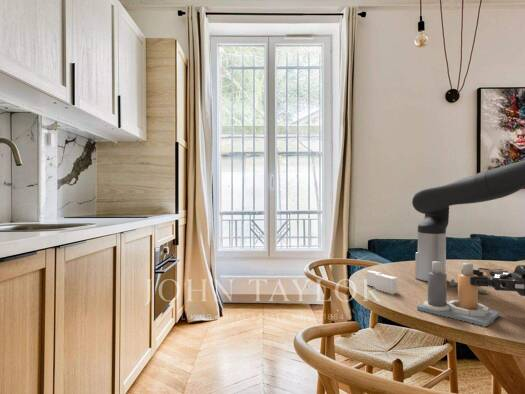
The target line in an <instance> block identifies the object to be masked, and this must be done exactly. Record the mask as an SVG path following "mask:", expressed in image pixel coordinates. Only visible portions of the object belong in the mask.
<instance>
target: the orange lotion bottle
mask: <svg viewBox="0 0 525 394" xmlns="http://www.w3.org/2000/svg"><path fill="white" fill-rule="evenodd" d="M461 266H462V269H461V273H457V283H458V285H457V300H458V307H459V308H463V309H468V310H478V303H479V292H478V289H479V287H478V286H473V285H471V284H470V277H471V276H477V275H473V270H474V263H471V262H463V263H462V265H461Z"/></svg>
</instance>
